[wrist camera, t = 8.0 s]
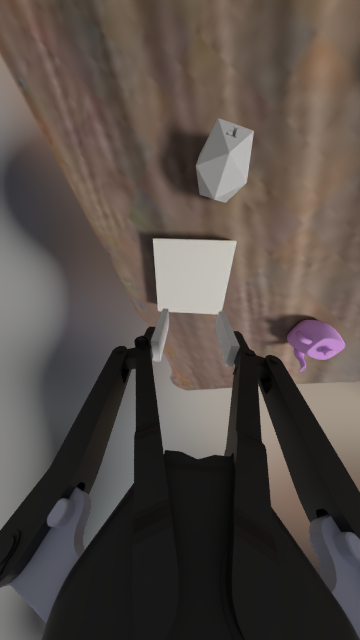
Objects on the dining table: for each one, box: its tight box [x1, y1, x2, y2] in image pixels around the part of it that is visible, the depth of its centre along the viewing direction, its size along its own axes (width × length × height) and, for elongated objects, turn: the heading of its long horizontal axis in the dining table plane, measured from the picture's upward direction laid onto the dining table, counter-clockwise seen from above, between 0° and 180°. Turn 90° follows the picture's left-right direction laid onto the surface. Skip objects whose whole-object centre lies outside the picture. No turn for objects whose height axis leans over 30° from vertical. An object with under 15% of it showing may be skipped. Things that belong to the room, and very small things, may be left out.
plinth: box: [153, 238, 237, 314], centre depth 36 cm, size 18×18×4 cm
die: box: [196, 118, 254, 203], centre depth 23 cm, size 8×9×10 cm
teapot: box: [287, 320, 345, 372], centre depth 41 cm, size 15×14×10 cm
